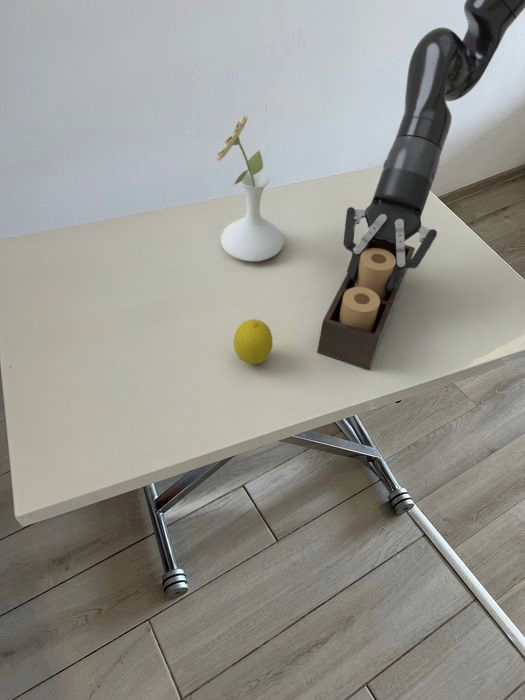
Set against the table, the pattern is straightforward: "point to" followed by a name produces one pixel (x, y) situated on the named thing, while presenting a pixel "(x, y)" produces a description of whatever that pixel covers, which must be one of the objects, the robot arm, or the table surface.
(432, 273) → the table surface
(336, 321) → the rack
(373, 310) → the roll
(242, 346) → the lemon
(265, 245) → the flower in vase
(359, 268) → the towel roll
